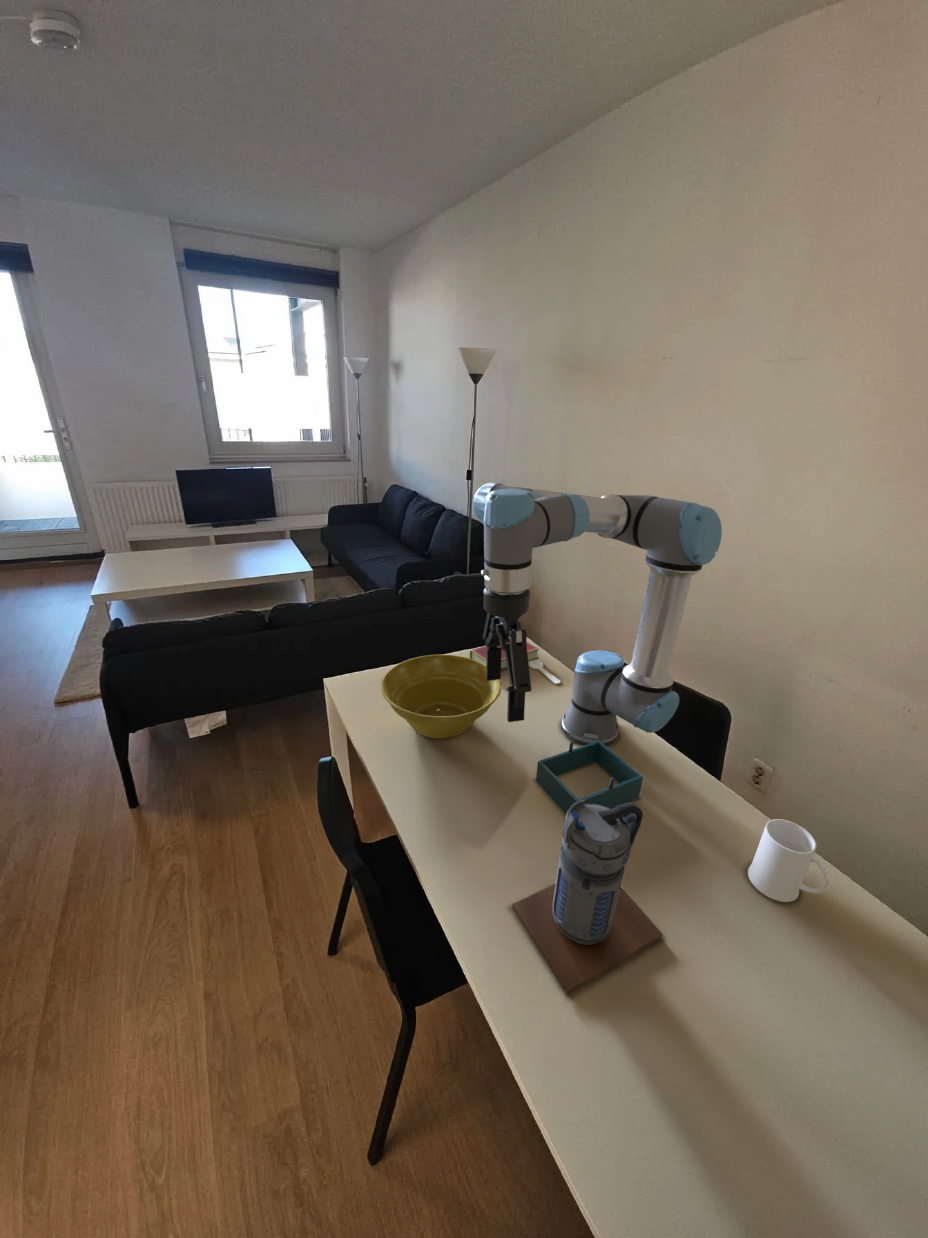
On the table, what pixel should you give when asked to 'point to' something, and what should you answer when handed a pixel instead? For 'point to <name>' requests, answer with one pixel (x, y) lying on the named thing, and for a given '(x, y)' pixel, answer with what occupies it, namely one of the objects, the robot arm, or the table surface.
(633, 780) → the teal open box
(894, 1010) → the table surface
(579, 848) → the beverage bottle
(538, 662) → the spoon
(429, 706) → the planter bowl
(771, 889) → the mug
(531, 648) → the hardcover book
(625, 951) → the walnut board
